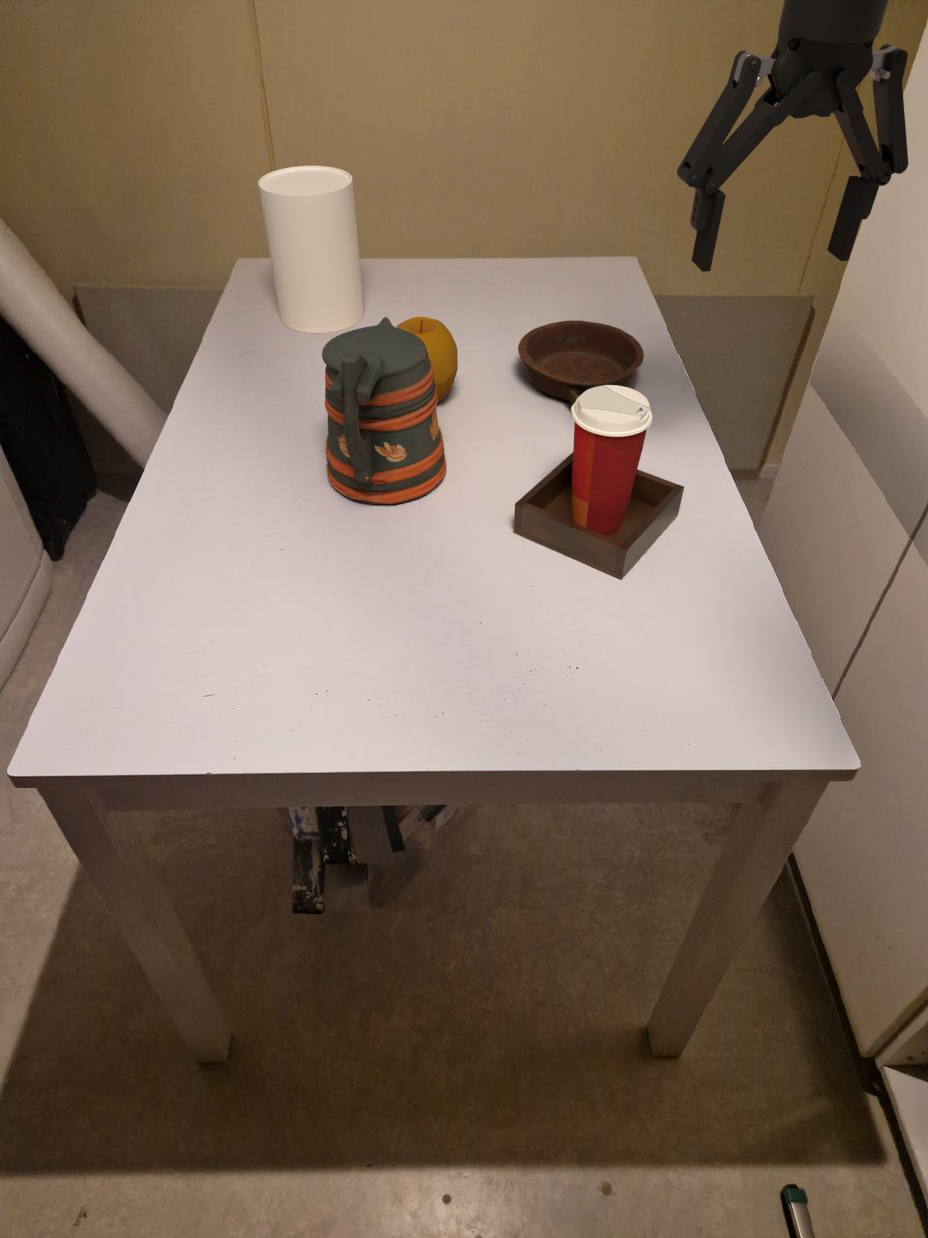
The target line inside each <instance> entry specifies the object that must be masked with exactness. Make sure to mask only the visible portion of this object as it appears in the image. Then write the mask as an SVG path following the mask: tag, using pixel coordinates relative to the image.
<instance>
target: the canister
mask: <svg viewBox="0 0 928 1238" xmlns="http://www.w3.org/2000/svg"><path fill="white" fill-rule="evenodd" d="M257 184H258V190H259V197H260V202H261V209H262V210H261V211H262V214H263V220H264V226H265V227H264V228H265V233H266V239H267V245H268V251H269V252H268V253H269V257H270V263H271V270H272V277H273V282H274V288H275V289H274V290H275V294H276V301H277V307H278V313H279V318H280V321H281V323H282V325H284V326H285V327H287V328H288V329H291V330H293V331H296V332H300V333H305V334H328V333H335V332H339V331H344V330H346V329H349V328H351V327H354V326H355V325H356V324H358V323H360V322H361V320H363V318H364V316H365V304H364V292H363V282H362V281H363V280H362V270H361V260H360V248H359V238H358V237H359V236H358V227H357V226H358V225H357V214H356V213H357V212H356V203H355V202H356V201H355V192H354V182H353V176H352V175H351V174H350V172H348V171H346V170H344V169H341V168H338V167H333V166H332V167H331V166H325V165H299V166H290V167H285V168H280V169H276V170H273V171H269V172H268V173H266V174H264V175H262V176H261V177H260V178H259V179H258V182H257Z"/></svg>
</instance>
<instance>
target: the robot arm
mask: <svg viewBox="0 0 928 1238" xmlns="http://www.w3.org/2000/svg"><path fill="white" fill-rule="evenodd" d="M889 1H890V0H784V1H783V5H782V10H781V14H780V17H779V18H780V19H779V24H778V32H777V40H776V41H777V42H776V44H775V47H774V49H773V51H772V53H771V55H770V56H765V55H755V54H753V53H750V51H747V50H744V49H743V50H740V51H738V52H737V53H736V55H735V57H734V59H733V63H732V67H731V70H730V73H729V77H728V80H727V82H726V83H727V84H725V87H724V88H723V90H722V92H721V93H720V95H719V97H718V99H717V101H716V102H715V104H714V106H713V108H712V109H711V111H710V113H709V114H708V116H707V118H706V119H705V121H704V123H703V124H702V126H701V128H700V130H699V131H698V133H697V135H696V136H695V138H694V139H693V142H692V144H691V145H690V147H689V148H688V150H687V152H686V154H685V156H684V157H683V159H682V161H681V162H680V164H679V165H678V168H677V170H676V175H677V177H678V178H679V179H680V180H681V181H683V182H684V184H686V185H687V186H688V187H690V188H694V191H695V192H694V198H693V202H692V208H691V214H690V218H689V219H690V220H689V221H690V226H691V227H692V228H693V230H695V231H696V235H695V239H694V244H693V251H692V256H691V262H692V263H693V264H694V265H695V266H696V267H697V268H698V269H699V270H700V271H701V272H703V273H704V272H705V273H706V272H711V269H712V265H713V259H714V255H715V250H716V246H717V240H718V235H719V230H720V226H721V220H722V215H723V212H724V211H723V210H724V206H725V201H726V196H727V194H726V193H724V192H723V191H722V190H721V189H720V188H721V187H722V186H723V185H724V184H725V182H727V181H728V179H730V177H731V176H732V175H733V174H734V172H736V170H738V168H739V167H740V166H741V164H743V163H744V161H745V160H746V159H747V158H748V157H749V156H750V155H751V154H752V153H753V151H754V150H755V149H756V148H757V147H758V146H759V145H760V144H761V143H762V142H763V140H764V139H765V138H766V137H767V136H768V135H769V134H770V132H771V131H772V130H773V129H774V128H775V127H778V126H780V125H782V124H783V123H784V122H785V120H787V118H788V117H792V118H793V119H805V118H808V117H811V116H815V117H816V116H817V117H820V118H829V117H831V115H832V114H833V115H834V116H835V118H836V120H837V123H838V126H839V128H840V130H841V132H842V135H843V137H844V140H845V142H846V144H847V147H848V150H849V151H850V154H851V155H852V159H853V160H854V163H855V166H856V168H857V170H858V172H859V174H860V175H859V176H858V175H849V176H848V178H847V181H846V185H845V189H844V191H843V196H842V198H841V202H840V206H839V209H838V212H837V215H836V219H835V222H834V224H833V229H832V232H831V234H830V235H831V236H830V239H829V242H828V245H827V249H826V251H827V252H829V253H830V254H832V255H833V256H834V257H835V258H836V259H838V260H839V261H840V262H849V260H850V257H851V254H852V251H853V248H854V244H855V242H856V239H857V235H858V232H859V229H860V226H861V224H862V223H861V222H862V220H863V221H864V220H867V219H868V218H869V216H870V215H871V213H872V211H873V207H874V204H875V201H876V198H877V194H878V192H879V188H880V187H884V186H886V185H888V184H889V183H890V181H891V179H892V176H893V175H894V174H897V175H900V174H903V173H904V172H906V171H907V168H908V167H909V154H908V153H909V152H908V139H907V128H906V115H905V114H906V113H905V101H904V88H903V79H904V75H905V70H906V67H907V63H908V58H909V54H908V51H906V50H905V49H902V48H900V47H898V46H895V45H892V44H890V43H885V44H883V45H882V46H881V47H880V48H879V49H878V50H874V51H873V45H874V41H875V39H876V37H878V35H879V34H880V32H881V28H882V24H883V22H884V18H885V14H886V12H887V8H888V4H889ZM868 74H869V77H870V79H872V94H873V104H874V114H875V123H876V133H877V144H876V141H875V139H874V137H873V133H872V132H871V129H870V127H869V124H868V122H867V119H866V117H865V114H864V105H863V103H862V101H861V98H860V96H859V93H858V91H857V89H856V88H858V86H859V85H860V84H861V83H862V81H864V79H865V78H866V77H867V75H868ZM765 77H767V79H768V82H769V87H768V88H767V89H766V90H765V91H764V93H763V94H762V95H761V96H760V97H759V98H758V99H757V100H756V102H755V103H754V105H753V109H752V111H750V113H749V114H748V115H747V116H746V117H745V119H744V120H743V121H741V123H740V124H739V125H738V127H737V128H736V129H735V130H734V131H733V132H732V133H731V131H732V129H733V127H734V126H735V124H736V123H737V121H738V120H739V118H740V116H741V114H742V113H743V111H744V110H745V108H746V106H747V104H748V102H749V101H750V99H751V97H752V95H753V92H754V91H755V89H756V88H757V87H759V86H760V85H762V83H763V79H764V78H765ZM730 133H731V135H730ZM729 135H730V136H729ZM728 136H729V137H728ZM877 145H878V146H877Z"/></svg>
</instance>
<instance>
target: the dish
mask: <svg viewBox="0 0 928 1238" xmlns="http://www.w3.org/2000/svg"><path fill="white" fill-rule="evenodd" d="M517 351H518V355H519V357H520V358H521V360H522V362H523V366H524V369H525V372H526V375H527V376H528V378H529V380H530V382H531V384H532V385H533V386H535V388H537V389H539V391H541V392H543V393H545V394H547V395H550V396H553V397H555V398H558V399H562V400H567V401H568V402H569V403H570V404H571V406H573V404H574V403H575V402H576V400H577V398H578V397H579V396H580V395H582V394H583V393H584V392H585V391H586V390H588V389H591V388H594V387H598V386H603V385H617V386H623V387H627V388H628V386H629V385H630V383H631V382H632V380H633V378H634V375H635V374H636V372H637V371H638V370H639V368H640V367H641V366H642V365H643V362H644V360H645V351H644V348H643V347H642V345H641V343H640V342H639V341H638V340H637V339H636V338H635V337H634V336H632V335H631V334H629V333H628V332H626V331H624V330H623V329H622V328H619V327H616V326H613V325H609V324H604V323H600V322H594V321H587V320H580V319H579V320H574V319H573V320H572V319H571V320H563V321H562V320H561V321H556V322H550V323H547V324H544V325H540V326H538V327H535V328H533V329H531V330H530V331H528V332H527V333H525V334H524V335H523V336H522V337H521V339H520V341H519V343H518V345H517Z"/></svg>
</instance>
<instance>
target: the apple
mask: <svg viewBox="0 0 928 1238" xmlns="http://www.w3.org/2000/svg"><path fill="white" fill-rule="evenodd" d="M395 327H396V328H399V329H402V330H405V331H408V332H410V333H413V334H414V335H416V336H418V337H419V338H420V339H421V340H422V341H423V342H424V344H425V345H426V349H427V352H428V357H429V359H430V360H431V362H432V364H433V371H434V379H435V386H436V390H437V403H439V402H440V401H441V400H443V399H444V397H446V395H447V394H448V393H449V392H450V390H451V389H452V387H453V385H454V383H455V380H456V377H457V373H458V368H459V366H458V365H459V361H458V360H459V358H458V355H459V354H458V345H457V343H456V341H455V339H454V337H453V335H452V332H451V331H450V330H449V329H448V328H447V325H445V324H444V323H443V322H442V321H440V320H438V319H435V318H430V317H427V316H414V317H410V318H408V319H406V320H404V321H402V322H400V323H398V324H397V325H396V326H395Z"/></svg>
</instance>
